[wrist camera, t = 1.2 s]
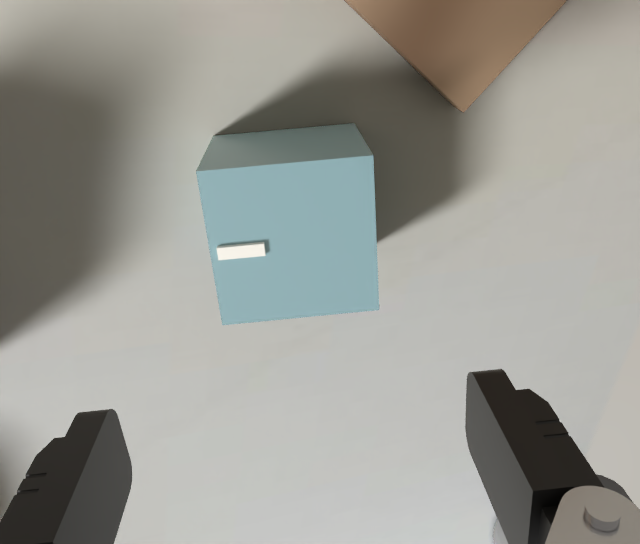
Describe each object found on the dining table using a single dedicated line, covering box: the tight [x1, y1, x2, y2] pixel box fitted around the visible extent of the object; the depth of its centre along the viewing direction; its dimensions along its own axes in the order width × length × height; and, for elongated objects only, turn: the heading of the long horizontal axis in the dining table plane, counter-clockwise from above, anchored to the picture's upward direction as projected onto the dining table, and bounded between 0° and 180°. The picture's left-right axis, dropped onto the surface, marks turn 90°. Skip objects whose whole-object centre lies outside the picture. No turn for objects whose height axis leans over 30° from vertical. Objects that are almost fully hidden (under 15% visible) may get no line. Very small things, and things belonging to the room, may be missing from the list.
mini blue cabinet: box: [196, 123, 379, 325], centre depth 25 cm, size 6×6×6 cm
